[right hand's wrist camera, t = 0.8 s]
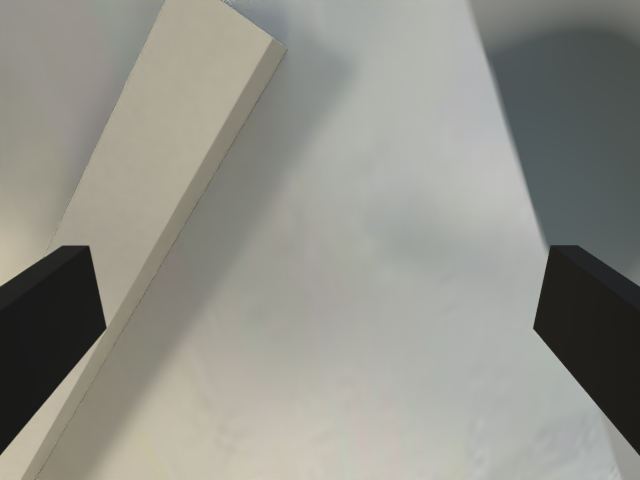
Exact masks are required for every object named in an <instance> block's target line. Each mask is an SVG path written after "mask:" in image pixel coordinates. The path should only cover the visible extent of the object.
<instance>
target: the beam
mask: <svg viewBox="0 0 640 480" xmlns="http://www.w3.org/2000/svg"><path fill="white" fill-rule="evenodd" d="M286 51H287V48H286V47H285V46H284V45H282V44H281V43H280V42H278V41H277V40H276V39H274V38H273V37H272V36H270V35H269V34H267V33H266V32H265V31H263V30H262V29H261V28H259V27H258V26H256V25H255V24H254V23H252V22H251V21H249V20H248V19H247V18H245V17H244V16H242V15H241V14H240V13H238V12H237V11H236V10H234V9H233V8H231V7H230V6H229V5H227V4H226V3H224V2H223V1H222V0H165V1H164V4H163V6H162V8H161V10H160V12H159V14H158V16H157V18H156V20H155V23H154V25H153V27H152V29H151V31H150V33H149V35H148V37H147V40H146V42H145V44H144V46H143V48H142V50H141V52H140V54H139V56H138V59H137V61H136V63H135V65H134V67H133V69H132V71H131V73H130V75H129V78H128V80H127V82H126V84H125V86H124V88H123V90H122V92H121V94H120V97H119V99H118V101H117V103H116V105H115V107H114V109H113V111H112V114H111V116H110V118H109V120H108V122H107V124H106V126H105V128H104V130H103V133H102V135H101V137H100V139H99V141H98V143H97V145H96V147H95V149H94V152H93V154H92V156H91V158H90V160H89V162H88V164H87V166H86V169H85V171H84V173H83V175H82V177H81V179H80V181H79V183H78V185H77V188H76V190H75V192H74V194H73V196H72V198H71V200H70V202H69V204H68V207H67V209H66V211H65V213H64V215H63V217H62V219H61V221H60V223H59V226H58V228H57V230H56V232H55V234H54V236H53V238H52V240H51V243H50V245H49V247H48V249H47V251H46V253H45V255H44V257H46V256H47V255H49V254H50V253H52V252H53V251H55V250H56V249H58V248H59V247H61V246H62V245H89V246H90V251H91V256H92V261H93V265H94V270H95V275H96V279H97V284H98V289H99V293H100V298H101V303H102V308H103V312H104V317H105V322H106V326H107V329H106V330H105V331H104V332H103V334H102V335H101V336H100V337H99V338H98V340H97V341H96V342H95V343H94V344H93V346H92V347H91V348H90V349H89V350H88V352H87V353H86V354H85V355H84V356H83V358H82V359H81V360H80V361H79V362H78V363H77V365H76V366H75V367H74V368H73V369H72V371H71V372H70V373H69V374H68V375H67V377H66V378H65V379H64V380H63V381H62V383H61V384H60V385H59V386H58V387H57V389H56V390H55V391H54V392H53V393H52V395H51V396H50V397H49V398H48V399H47V401H46V402H45V403H44V404H43V405H42V406H41V408H40V409H39V410H38V411H37V412H36V414H35V415H34V416H33V417H32V418H31V420H30V421H29V422H28V423H27V424H26V426H25V427H24V428H23V429H22V430H21V432H20V433H19V434H18V435H17V436H16V438H15V439H14V440H13V441H12V442H11V444H10V445H9V446H8V447H7V448H6V449H5V451H4V452H3V453H2V454H1V455H0V480H35V479H36V477H37V475H38V474H39V472H40V470H41V469H42V467H43V465H44V463H45V462H46V460H47V458H48V457H49V455H50V453H51V451H52V450H53V448H54V446H55V445H56V443H57V441H58V440H59V438H60V436H61V434H62V433H63V431H64V429H65V428H66V426H67V424H68V422H69V421H70V419H71V417H72V416H73V414H74V412H75V411H76V409H77V407H78V405H79V404H80V402H81V400H82V399H83V397H84V395H85V394H86V392H87V390H88V388H89V387H90V385H91V383H92V382H93V380H94V378H95V376H96V375H97V373H98V371H99V370H100V368H101V366H102V365H103V363H104V361H105V359H106V358H107V356H108V354H109V353H110V351H111V349H112V348H113V346H114V344H115V342H116V341H117V339H118V337H119V336H120V334H121V332H122V330H123V329H124V327H125V325H126V324H127V322H128V320H129V319H130V317H131V315H132V313H133V312H134V310H135V308H136V307H137V305H138V303H139V302H140V300H141V298H142V296H143V295H144V293H145V291H146V290H147V288H148V286H149V284H150V283H151V281H152V279H153V278H154V276H155V274H156V273H157V271H158V269H159V267H160V266H161V264H162V262H163V261H164V259H165V257H166V256H167V254H168V252H169V250H170V249H171V247H172V245H173V244H174V242H175V240H176V238H177V237H178V235H179V233H180V232H181V230H182V228H183V227H184V225H185V223H186V221H187V220H188V218H189V216H190V215H191V213H192V211H193V209H194V208H195V206H196V204H197V203H198V201H199V199H200V198H201V196H202V194H203V192H204V191H205V189H206V187H207V186H208V184H209V182H210V181H211V179H212V177H213V175H214V174H215V172H216V170H217V169H218V167H219V165H220V163H221V162H222V160H223V158H224V157H225V155H226V153H227V152H228V150H229V148H230V146H231V145H232V143H233V141H234V140H235V138H236V136H237V135H238V133H239V131H240V129H241V128H242V126H243V124H244V123H245V121H246V119H247V117H248V116H249V114H250V112H251V111H252V109H253V107H254V106H255V104H256V102H257V100H258V99H259V97H260V95H261V94H262V92H263V90H264V89H265V87H266V85H267V83H268V82H269V80H270V78H271V77H272V75H273V73H274V71H275V70H276V68H277V66H278V65H279V63H280V61H281V60H282V58H283V56H284V54H285V53H286ZM44 257H43V258H44Z"/></svg>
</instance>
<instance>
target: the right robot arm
mask: <svg viewBox="0 0 640 480" xmlns="http://www.w3.org/2000/svg"><path fill="white" fill-rule="evenodd" d="M106 329H107V326H106V322H105V317H104V312H103V308H102V303H101V298H100V293H99V289H98V284H97V279H96V275H95V270H94V265H93V261H92V256H91V251H90V246H89V245H62V246H61V247H59V248H58V249H56V250H55V251H53V252H52V253H50V254H49V255H47V256H46V257H44V258H43V259H41V260H40V261H38V262H37V263H35V264H34V265H32V266H31V267H29V268H28V269H26V270H25V271H23V272H22V273H20V274H19V275H17V276H16V277H14V278H13V279H11V280H10V281H8V282H7V283H5V284H4V285H2V286H1V287H0V455H1V454H2V453H3V452H4V451H5V449H6V448H7V447H8V446H9V445H10V444H11V442H12V441H13V440H14V439H15V438H16V436H17V435H18V434H19V433H20V432H21V430H22V429H23V428H24V427H25V426H26V424H27V423H28V422H29V421H30V420H31V418H32V417H33V416H34V415H35V414H36V412H37V411H38V410H39V409H40V408H41V406H42V405H43V404H44V403H45V402H46V401H47V399H48V398H49V397H50V396H51V395H52V393H53V392H54V391H55V390H56V389H57V387H58V386H59V385H60V384H61V383H62V381H63V380H64V379H65V378H66V377H67V375H68V374H69V373H70V372H71V371H72V369H73V368H74V367H75V366H76V365H77V363H78V362H79V361H80V360H81V359H82V358H83V356H84V355H85V354H86V353H87V352H88V350H89V349H90V348H91V347H92V346H93V344H94V343H95V342H96V341H97V340H98V338H99V337H100V336H101V335H102V334H103V332H104V331H105V330H106ZM533 329H534V330H535V331H536V332H537V334H538V335H539V336H540V337H541V338H542V340H543V341H544V342H545V343H546V344H547V346H548V347H549V348H550V349H551V350H552V352H553V353H554V354H555V355H556V356H557V358H558V359H559V360H560V361H561V362H562V363H563V365H564V366H565V367H566V368H567V369H568V371H569V372H570V373H571V374H572V375H573V377H574V378H575V379H576V380H577V381H578V383H579V384H580V385H581V386H582V387H583V389H584V390H585V391H586V392H587V393H588V395H589V396H590V397H591V398H592V399H593V401H594V402H595V403H596V404H597V405H598V406H599V408H600V409H601V410H602V411H603V412H604V414H605V415H606V416H607V417H608V418H609V420H610V421H611V422H612V423H613V424H614V426H615V427H616V428H617V429H618V430H619V432H620V433H621V434H622V435H623V436H624V438H625V439H626V440H627V441H628V442H629V443H630V445H631V446H632V447H633V448H634V449H635V451H636V452H637V453H638V454H639V455H640V287H639V286H638V285H636V284H635V283H633V282H632V281H630V280H629V279H627V278H626V277H624V276H623V275H621V274H620V273H618V272H617V271H615V270H614V269H612V268H611V267H609V266H608V265H606V264H605V263H603V262H602V261H600V260H599V259H597V258H596V257H594V256H593V255H591V254H590V253H588V252H587V251H585V250H584V249H582V248H581V247H579V246H578V245H551V247H550V251H549V256H548V260H547V265H546V270H545V275H544V279H543V284H542V289H541V293H540V298H539V303H538V308H537V312H536V317H535V322H534V326H533Z"/></svg>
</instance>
